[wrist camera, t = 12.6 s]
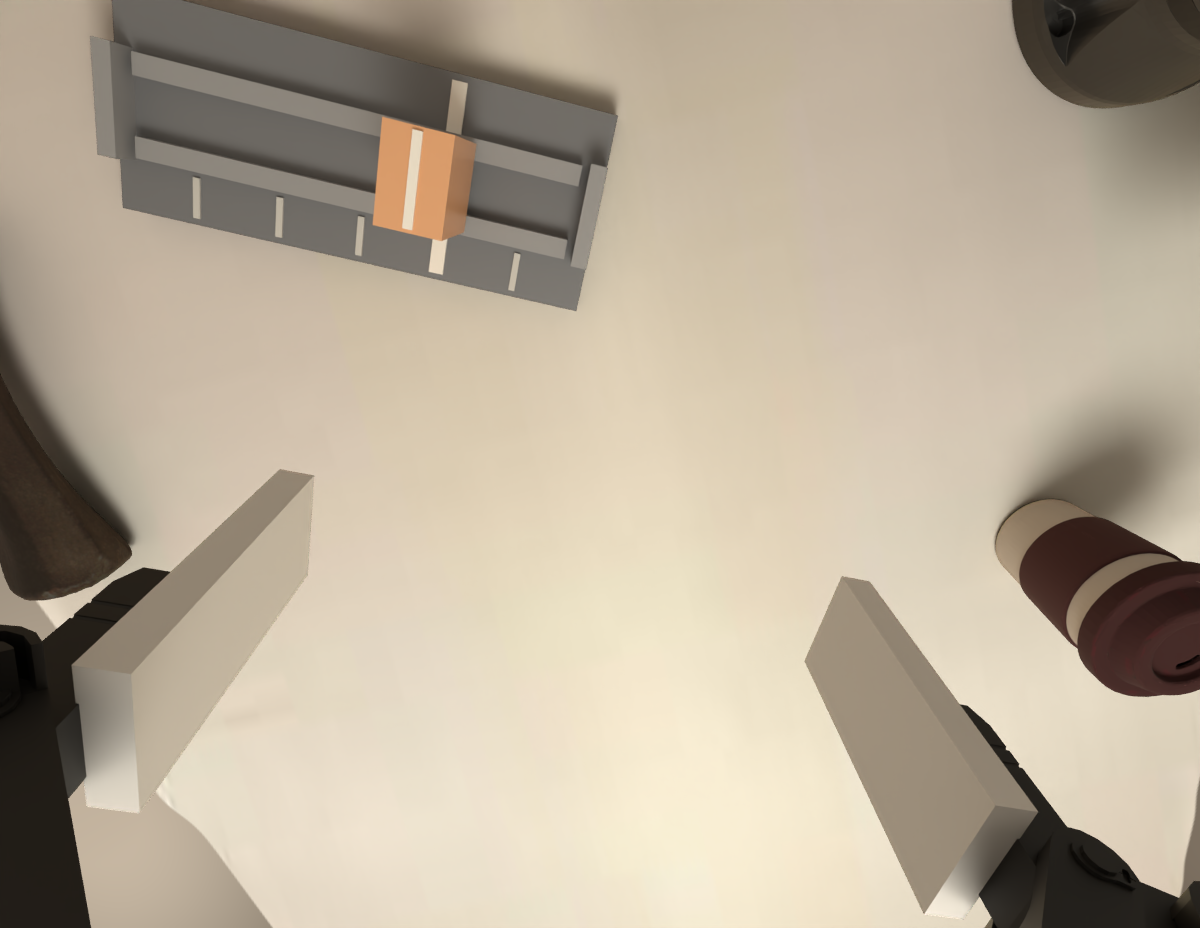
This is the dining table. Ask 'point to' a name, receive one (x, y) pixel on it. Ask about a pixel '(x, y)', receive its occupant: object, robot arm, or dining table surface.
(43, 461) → the dark brown bone
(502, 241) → the grey slider track
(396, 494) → the dining table surface
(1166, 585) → the coffee cup
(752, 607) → the dining table surface
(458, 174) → the fader
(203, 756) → the dining table surface
